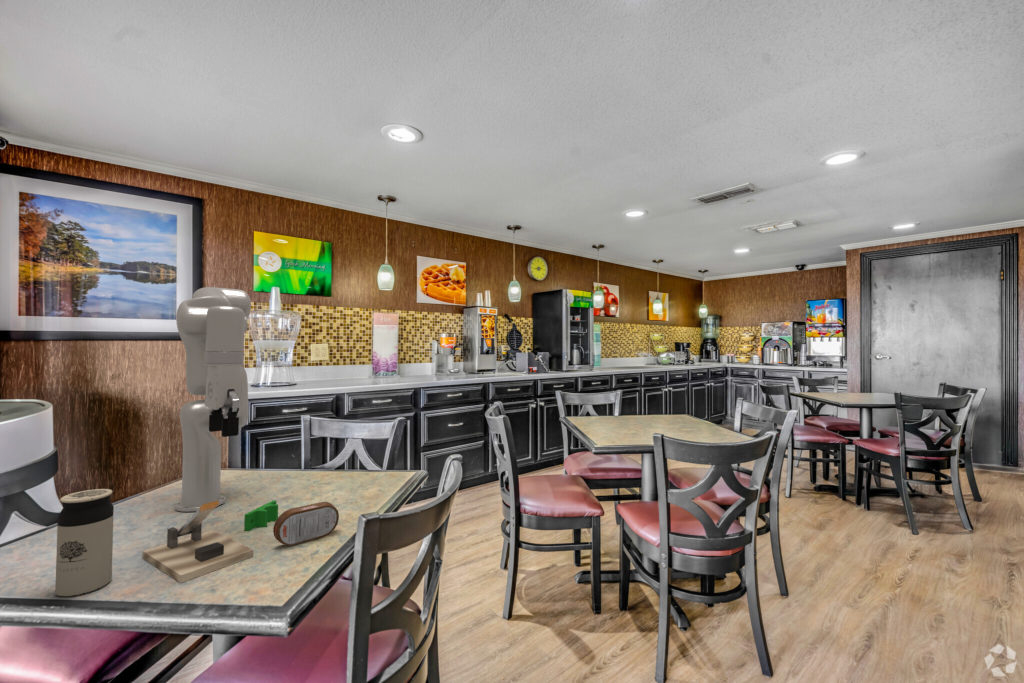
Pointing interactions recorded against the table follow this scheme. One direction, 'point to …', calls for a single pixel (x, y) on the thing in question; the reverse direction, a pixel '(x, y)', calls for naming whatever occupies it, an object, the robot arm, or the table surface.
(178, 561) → the base plate
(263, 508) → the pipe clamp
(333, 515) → the tin
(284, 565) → the table surface
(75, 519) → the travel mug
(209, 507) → the hinged lever
